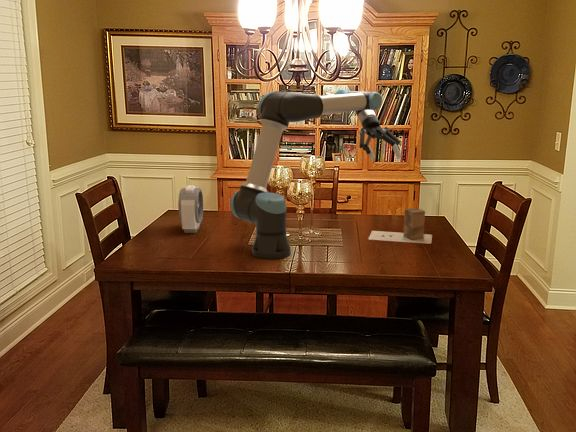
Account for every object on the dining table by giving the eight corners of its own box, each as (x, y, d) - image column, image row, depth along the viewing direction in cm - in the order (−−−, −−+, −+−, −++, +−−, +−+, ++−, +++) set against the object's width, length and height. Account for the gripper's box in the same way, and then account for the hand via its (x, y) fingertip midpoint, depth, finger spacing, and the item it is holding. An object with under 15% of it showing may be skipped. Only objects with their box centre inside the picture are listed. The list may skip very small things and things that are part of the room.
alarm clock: (198, 235, 256) (196, 189, 251) (178, 235, 256) (176, 189, 251) (204, 224, 274) (203, 182, 269) (186, 224, 274) (184, 182, 269)
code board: (431, 245, 240) (431, 243, 240) (367, 240, 247) (368, 239, 247) (432, 236, 253) (432, 234, 253) (372, 232, 260) (372, 230, 260)
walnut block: (423, 238, 247) (425, 211, 244) (411, 240, 245) (413, 212, 242) (414, 235, 252) (416, 208, 250) (403, 236, 250) (404, 209, 247)
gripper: (388, 125, 271) (406, 161, 262) (342, 127, 261) (358, 165, 252) (395, 114, 265) (414, 151, 256) (348, 116, 255) (365, 154, 246)
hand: (386, 158), depth 254 cm, fingers open, 13 cm apart
